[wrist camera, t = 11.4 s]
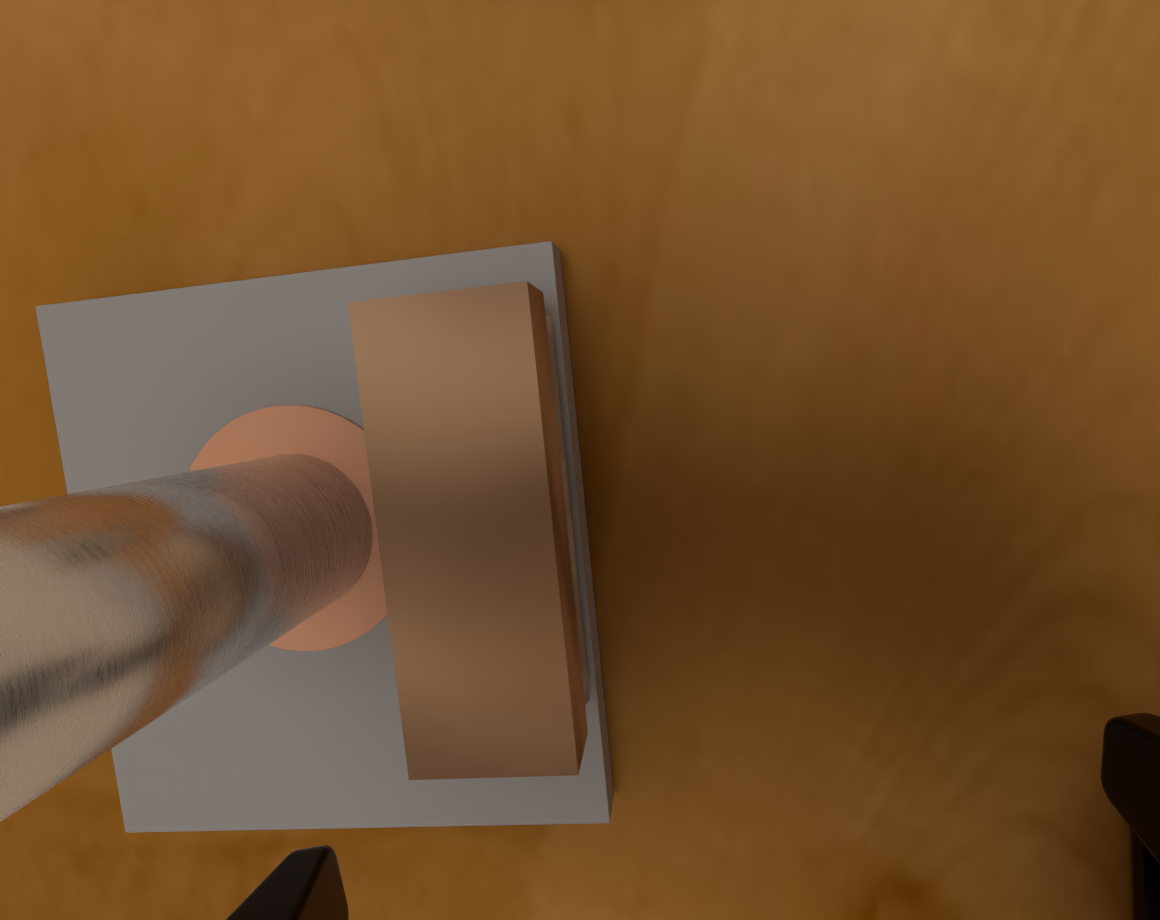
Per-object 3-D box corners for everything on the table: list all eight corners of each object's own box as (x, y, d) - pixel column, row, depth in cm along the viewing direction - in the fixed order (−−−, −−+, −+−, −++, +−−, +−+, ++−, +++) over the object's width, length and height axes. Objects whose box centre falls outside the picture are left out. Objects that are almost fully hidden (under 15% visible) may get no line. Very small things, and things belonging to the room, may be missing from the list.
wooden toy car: (594, 703, 20) (578, 775, 16) (454, 709, 20) (408, 779, 17) (553, 300, 18) (527, 281, 15) (406, 317, 19) (347, 302, 15)
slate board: (613, 792, 21) (609, 827, 20) (159, 803, 23) (120, 836, 22) (559, 251, 20) (550, 239, 18) (78, 311, 22) (29, 305, 20)
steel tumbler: (367, 617, 20) (-174, 1045, 7) (220, 597, 20) (-539, 964, 8) (376, 462, 19) (-190, 618, 7) (226, 445, 20) (-581, 560, 7)
